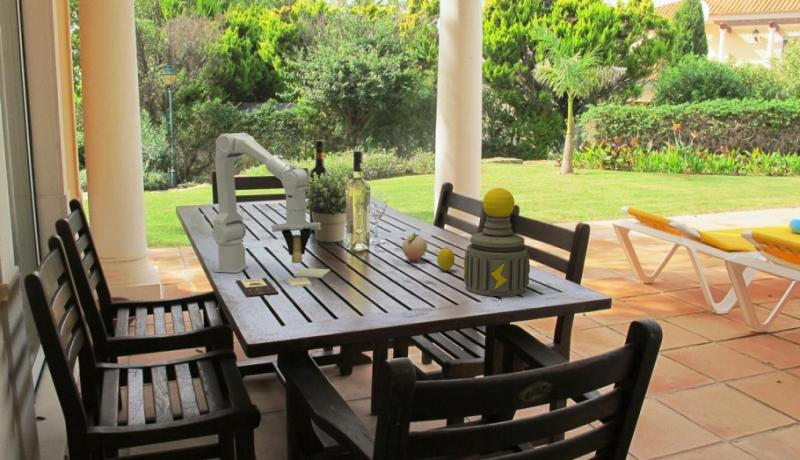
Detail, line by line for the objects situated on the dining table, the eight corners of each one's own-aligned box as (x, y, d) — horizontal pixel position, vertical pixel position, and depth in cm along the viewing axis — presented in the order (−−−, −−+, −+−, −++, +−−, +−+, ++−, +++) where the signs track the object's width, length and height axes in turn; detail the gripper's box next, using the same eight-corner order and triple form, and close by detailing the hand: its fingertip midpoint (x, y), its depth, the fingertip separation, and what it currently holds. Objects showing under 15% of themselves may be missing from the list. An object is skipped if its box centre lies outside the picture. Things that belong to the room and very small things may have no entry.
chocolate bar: (246, 295, 206) (235, 280, 222) (246, 298, 206) (236, 283, 222) (278, 292, 209) (265, 277, 225) (278, 295, 209) (265, 280, 225)
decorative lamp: (462, 280, 226) (464, 183, 221) (523, 281, 226) (527, 184, 220) (465, 297, 208) (468, 191, 202) (532, 298, 207) (537, 192, 202)
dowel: (293, 260, 224) (293, 234, 223) (303, 261, 224) (302, 235, 222) (290, 262, 221) (289, 236, 220) (300, 263, 221) (299, 237, 219)
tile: (286, 278, 224) (291, 284, 217) (305, 277, 226) (311, 283, 219) (286, 282, 224) (291, 288, 217) (305, 281, 226) (311, 287, 219)
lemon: (445, 268, 242) (445, 244, 240) (457, 271, 238) (458, 247, 236) (433, 271, 238) (433, 246, 236) (446, 274, 234) (446, 249, 233)
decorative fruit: (424, 265, 246) (424, 235, 244) (400, 263, 248) (400, 234, 246) (428, 259, 255) (429, 230, 253) (405, 257, 257) (405, 229, 255)
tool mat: (303, 269, 239) (303, 268, 239) (330, 270, 237) (330, 269, 237) (293, 276, 229) (293, 275, 229) (321, 278, 228) (321, 276, 228)
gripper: (274, 212, 213) (275, 258, 216) (322, 210, 218) (323, 255, 221) (269, 209, 220) (270, 253, 222) (317, 206, 225) (317, 250, 227)
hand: (296, 254), depth 222 cm, fingers closed on dowel, 3 cm apart
